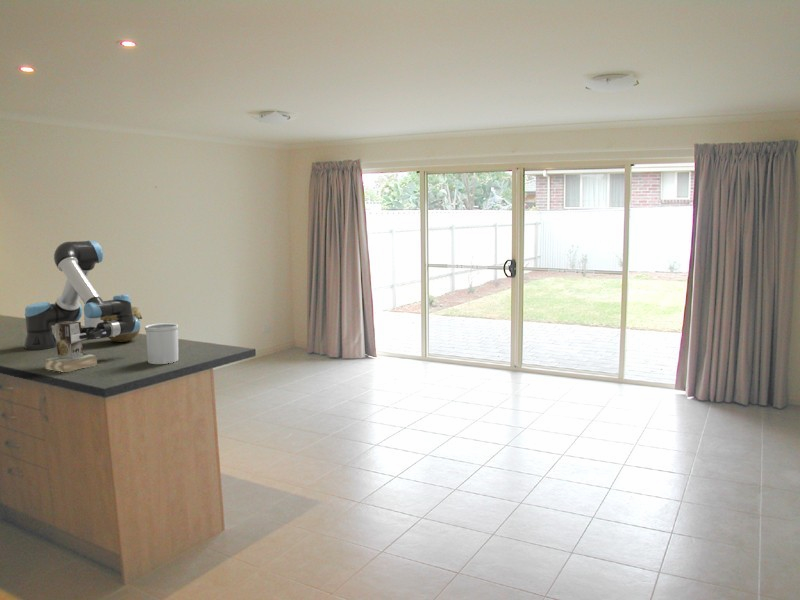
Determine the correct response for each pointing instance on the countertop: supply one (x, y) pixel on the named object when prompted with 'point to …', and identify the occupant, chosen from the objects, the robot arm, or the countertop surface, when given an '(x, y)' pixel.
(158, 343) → the utensil holder
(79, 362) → the base block
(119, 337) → the clay pot
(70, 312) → the robot arm
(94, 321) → the white canister
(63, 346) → the coffee box
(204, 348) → the countertop surface
